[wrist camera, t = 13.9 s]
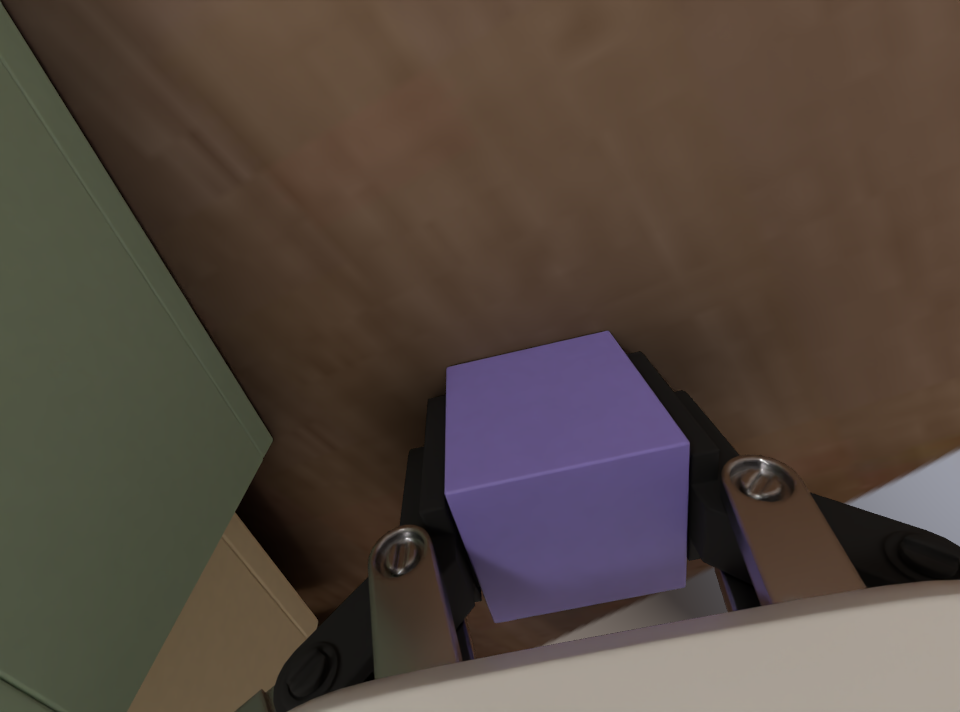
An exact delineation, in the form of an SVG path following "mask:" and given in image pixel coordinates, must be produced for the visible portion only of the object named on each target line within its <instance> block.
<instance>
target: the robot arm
mask: <svg viewBox="0 0 960 712" xmlns="http://www.w3.org/2000/svg"><path fill="white" fill-rule="evenodd" d="M626 355H627V356H628V358H629V359H630V361H631V362H632V363H633V365H634V366H635V368H636V369H637V370H638V372H639V373H640V374H641V376H642V377H643V379H644V380H645V381H646V383H647V384H648V385H649V387H650V388H651V390H652V391H653V392H654V394H655V395H656V396H657V398H658V399H659V401H660V402H661V403H662V405H663V406H664V407H665V409H666V410H667V412H668V413H669V414H670V416H671V417H672V419H673V420H674V421H675V423H676V424H677V425H678V427H679V428H680V430H681V431H682V432H683V434H684V435H685V436H686V438H687V439H688V441H689V442H690V456H689V492H688V527H687V558H688V560H689V561H690V560H695V559H702V561H703V562H705V563H707V564H709V565H711V566H713V567H715V573H716V576H717V579H718V582H719V585H720V589H721V592H722V595H723V598H724V602H725V605H726V608H727V611H728V612H727V613H721V614H716V615H710V616H704V617H699V618H694V619H688V620H682V621H677V622H672V623H666V624H660V625H655V626H650V627H644V628H639V629H633V630H628V631H622V632H617V633H612V634H606V635H601V636H595V637H590V638H585V639H580V640H574V641H569V642H563V643H558V644H553V645H547V646H542V647H537V648H531V649H526V650H521V651H516V652H510V653H505V654H500V655H495V656H489V657H484V658H479V659H477V658H476V654H475V651H474V647H473V643H472V639H471V635H470V631H469V628H468V624H467V620H466V616H467V615H468V614H469V612H470V611H471V610H472V609H473V607H474V606H475V602H478V601H482V599H481V587H480V584H479V582H478V579H477V576H476V574H475V571H474V569H473V566H472V564H471V561H470V558H469V556H468V553H467V551H466V548H465V546H464V543H463V540H462V538H461V535H460V533H459V530H458V528H457V525H456V522H455V520H454V517H453V515H452V512H451V510H450V507H449V504H448V502H447V499H446V497H445V494H444V490H445V429H446V395H443V396H439V397H434V398H430V399H428V405H427V418H426V431H425V443H424V447H419V448H415V449H411V450H410V451H409V455H408V462H407V470H406V478H405V486H404V494H403V502H402V510H401V518H400V526H399V527H396V528H394V529H392V530H390V531H388V532H387V533H385V534H384V535H383V536H382V537H381V538H380V539H379V540H378V541H377V542H376V544H375V545H374V546H373V548H372V550H371V553H370V555H369V559H368V578H367V579H366V580H365V581H364V582H363V583H362V584H361V585H360V586H359V587H358V588H357V589H356V590H355V591H354V592H353V593H352V594H351V595H350V596H349V597H348V598H347V599H346V600H345V601H344V602H343V603H342V604H341V605H340V606H339V607H338V608H337V609H336V610H335V611H334V612H333V613H332V614H331V615H330V616H329V617H328V618H327V619H326V620H325V621H324V622H323V623H322V624H321V625H320V626H319V627H318V628H317V629H316V630H315V631H314V632H313V633H312V634H311V635H310V636H309V637H308V638H307V639H306V640H305V641H304V642H303V643H302V644H301V645H300V646H299V647H298V648H297V649H296V650H295V651H294V652H293V654H292V655H291V656H290V657H289V659H288V660H287V661H286V662H285V664H284V666H283V667H282V669H281V671H280V673H279V675H278V677H277V680H276V683H275V685H274V686H273V687H272V688H271V689H269V690H268V691H267V692H265V691H264V690H263V689H261V690H260V691H258V692H257V693H256V694H255V695H254V696H252V697H251V698H250V699H249V700H248V701H246V702H245V703H244V704H243V705H242V706H240V707H239V708H238V709H237V710H236V711H234V712H960V547H959V546H958V545H956V544H954V543H953V542H951V541H949V540H948V539H946V538H944V537H941V536H939V535H937V534H934V533H932V532H929V531H927V530H924V529H920V528H917V527H914V526H911V525H908V524H905V523H902V522H899V521H896V520H893V519H890V518H887V517H884V516H881V515H878V514H874V513H871V512H868V511H865V510H862V509H859V508H856V507H853V506H850V505H847V504H844V503H841V502H838V501H835V500H831V499H828V498H825V497H822V496H819V495H816V494H813V493H810V492H809V491H808V489H807V487H806V486H805V484H804V482H803V481H802V479H801V478H800V477H799V475H798V474H797V473H796V472H795V471H794V470H793V469H792V468H790V467H789V466H787V465H786V464H785V463H782V462H780V461H778V460H776V459H773V458H770V457H766V456H762V455H742V456H740V455H739V454H738V453H737V452H736V450H735V449H734V448H733V447H732V446H731V445H730V443H729V442H728V441H727V440H726V439H725V437H724V436H723V435H722V434H721V433H720V431H719V430H718V429H717V428H716V427H715V426H714V424H713V423H712V422H711V421H710V420H709V418H708V417H707V416H706V415H705V414H704V412H703V411H702V410H701V409H700V408H699V407H698V405H697V404H696V403H695V402H694V401H693V399H692V398H691V397H690V396H689V395H688V394H687V393H686V392H685V391H682V390H681V391H677V392H673V391H672V389H671V388H670V387H669V386H668V384H667V383H666V382H665V381H664V379H663V378H662V377H661V376H660V374H659V373H658V372H657V370H656V369H655V368H654V367H653V365H652V364H651V363H650V362H649V360H648V359H647V358H646V357H645V355H644V354H643V353H642V352H635V353H631V354H626Z"/></svg>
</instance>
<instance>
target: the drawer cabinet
mask: <svg viewBox="0 0 960 712" xmlns="http://www.w3.org/2000/svg"><path fill="white" fill-rule="evenodd" d="M272 442H273V438H272V437H271V435H270V433H269V432H268V430H267V429H266V427H265V425H264V424H263V422H262V421H261V419H260V417H259V416H258V414H257V413H256V411H255V409H254V408H253V406H252V405H251V403H250V401H249V400H248V398H247V396H246V395H245V393H244V392H243V390H242V388H241V387H240V385H239V384H238V382H237V380H236V379H235V377H234V376H233V374H232V372H231V371H230V369H229V368H228V366H227V364H226V363H225V361H224V360H223V358H222V356H221V355H220V353H219V352H218V350H217V348H216V347H215V345H214V343H213V342H212V340H211V339H210V337H209V335H208V334H207V332H206V331H205V329H204V327H203V326H202V324H201V323H200V321H199V319H198V318H197V316H196V315H195V313H194V311H193V310H192V308H191V307H190V305H189V303H188V302H187V300H186V299H185V297H184V295H183V294H182V292H181V291H180V289H179V287H178V286H177V284H176V282H175V281H174V279H173V278H172V276H171V274H170V273H169V271H168V270H167V268H166V266H165V265H164V263H163V262H162V260H161V258H160V257H159V255H158V254H157V252H156V250H155V249H154V247H153V246H152V244H151V242H150V241H149V239H148V238H147V236H146V234H145V233H144V231H143V229H142V228H141V226H140V225H139V223H138V221H137V220H136V218H135V217H134V215H133V213H132V212H131V210H130V209H129V207H128V205H127V204H126V202H125V201H124V199H123V197H122V196H121V194H120V193H119V191H118V189H117V188H116V186H115V185H114V183H113V181H112V180H111V178H110V176H109V175H108V173H107V172H106V170H105V168H104V167H103V165H102V164H101V162H100V160H99V159H98V157H97V156H96V154H95V152H94V151H93V149H92V148H91V146H90V144H89V143H88V141H87V140H86V138H85V136H84V135H83V133H82V132H81V130H80V128H79V127H78V125H77V124H76V122H75V120H74V119H73V117H72V115H71V114H70V112H69V111H68V109H67V107H66V106H65V104H64V103H63V101H62V99H61V98H60V96H59V95H58V93H57V91H56V90H55V88H54V87H53V85H52V83H51V82H50V80H49V79H48V77H47V75H46V74H45V72H44V71H43V69H42V67H41V66H40V64H39V62H38V61H37V59H36V58H35V56H34V54H33V53H32V51H31V50H30V48H29V46H28V45H27V43H26V42H25V40H24V38H23V37H22V35H21V34H20V32H19V30H18V29H17V27H16V26H15V24H14V22H13V21H12V19H11V18H10V16H9V14H8V13H7V11H6V10H5V8H4V6H3V5H2V3H1V1H0V712H127V711H128V709H129V707H130V705H131V703H132V702H133V700H134V698H135V696H136V694H137V692H138V690H139V689H140V687H141V685H142V683H143V681H144V679H145V677H146V676H147V674H148V672H149V670H150V668H151V666H152V665H153V663H154V661H155V659H156V657H157V655H158V653H159V652H160V650H161V648H162V646H163V644H164V642H165V640H166V639H167V637H168V635H169V633H170V631H171V629H172V628H173V626H174V624H175V622H176V620H177V618H178V616H179V615H180V613H181V611H182V609H183V607H184V605H185V603H186V602H187V600H188V598H189V596H190V594H191V592H192V591H193V589H194V587H195V585H196V583H197V581H198V579H199V578H200V576H201V574H202V572H203V570H204V568H205V566H206V565H207V563H208V561H209V559H210V557H211V555H212V554H213V552H214V550H215V548H216V546H217V544H218V542H219V541H220V539H221V537H222V535H223V533H224V531H225V529H226V528H227V526H228V524H229V522H230V520H231V518H232V517H233V515H234V513H235V511H236V509H237V507H238V505H239V504H240V502H241V500H242V498H243V496H244V494H245V492H246V491H247V489H248V487H249V485H250V483H251V481H252V480H253V478H254V476H255V474H256V472H257V470H258V468H259V467H260V465H261V463H262V461H263V457H264V456H265V454H266V453H267V451H268V449H269V447H270V445H271V443H272Z"/></svg>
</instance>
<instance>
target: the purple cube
mask: <svg viewBox="0 0 960 712" xmlns="http://www.w3.org/2000/svg"><path fill="white" fill-rule="evenodd" d="M689 456H690V442H689V441H688V439H687V438H686V436H685V435H684V434H683V432H682V431H681V430H680V428H679V427H678V425H677V424H676V423H675V421H674V420H673V419H672V417H671V416H670V414H669V413H668V412H667V410H666V409H665V407H664V406H663V405H662V403H661V402H660V401H659V399H658V398H657V396H656V395H655V394H654V392H653V391H652V390H651V388H650V387H649V385H648V384H647V383H646V381H645V380H644V379H643V377H642V376H641V374H640V373H639V372H638V370H637V369H636V368H635V366H634V365H633V363H632V362H631V361H630V359H629V358H628V356H627V355H626V354H625V352H624V351H623V350H622V348H621V347H620V345H619V344H618V343H617V341H616V340H615V339H614V337H613V336H612V334H611V333H610V332H609V331H604V332H599V333H595V334H590V335H586V336H582V337H577V338H573V339H569V340H564V341H560V342H555V343H551V344H547V345H542V346H538V347H534V348H529V349H525V350H520V351H516V352H512V353H507V354H503V355H499V356H494V357H490V358H485V359H481V360H477V361H472V362H468V363H464V364H459V365H455V366H450V367H447V370H446V429H445V490H444V494H445V497H446V499H447V502H448V504H449V507H450V510H451V512H452V515H453V517H454V520H455V522H456V525H457V528H458V530H459V533H460V535H461V538H462V540H463V543H464V546H465V548H466V551H467V553H468V556H469V558H470V561H471V564H472V566H473V569H474V571H475V574H476V576H477V579H478V582H479V584H480V587H481V589H482V592H483V594H484V597H485V600H486V602H487V605H488V607H489V610H490V612H491V615H492V618H493V620H494V622H495V623H500V622H505V621H510V620H516V619H521V618H526V617H531V616H537V615H542V614H547V613H552V612H558V611H563V610H568V609H574V608H579V607H584V606H589V605H595V604H600V603H605V602H610V601H616V600H621V599H626V598H631V597H637V596H642V595H647V594H653V593H658V592H663V591H668V590H674V589H679V588H684V587H685V586H686V563H687V527H688V492H689Z"/></svg>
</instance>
